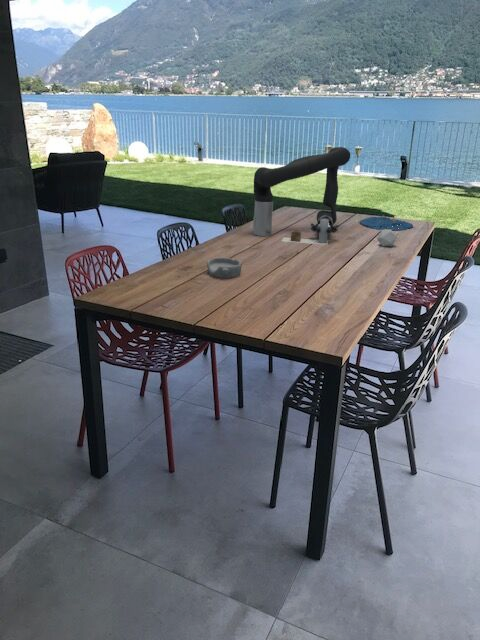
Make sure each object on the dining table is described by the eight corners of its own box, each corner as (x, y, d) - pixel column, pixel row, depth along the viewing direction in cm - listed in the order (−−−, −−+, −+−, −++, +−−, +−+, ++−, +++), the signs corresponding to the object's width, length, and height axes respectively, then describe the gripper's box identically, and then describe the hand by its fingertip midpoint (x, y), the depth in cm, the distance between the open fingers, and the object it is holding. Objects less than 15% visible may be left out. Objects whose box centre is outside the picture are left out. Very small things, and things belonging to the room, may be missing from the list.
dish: (229, 281, 203) (229, 268, 201) (199, 274, 209) (199, 262, 207) (248, 272, 214) (249, 260, 212) (220, 266, 221) (220, 254, 219)
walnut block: (290, 241, 257) (291, 231, 256) (291, 238, 261) (292, 229, 260) (299, 241, 256) (300, 232, 255) (300, 239, 261) (301, 230, 259)
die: (393, 250, 255) (402, 232, 256) (378, 241, 254) (388, 223, 254) (385, 251, 263) (394, 235, 264) (371, 243, 262) (380, 226, 262)
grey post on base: (281, 243, 257) (282, 218, 252) (283, 239, 264) (284, 215, 259) (327, 246, 253) (329, 221, 248) (328, 242, 260) (330, 218, 256)
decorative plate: (419, 234, 292) (421, 225, 290) (365, 232, 292) (366, 222, 290) (405, 221, 319) (406, 212, 317) (355, 218, 319) (356, 210, 317)
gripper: (311, 215, 267) (309, 222, 252) (340, 217, 265) (339, 224, 249) (310, 230, 270) (307, 238, 254) (338, 232, 268) (337, 240, 252)
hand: (323, 231), depth 252 cm, fingers closed on grey post on base, 4 cm apart
